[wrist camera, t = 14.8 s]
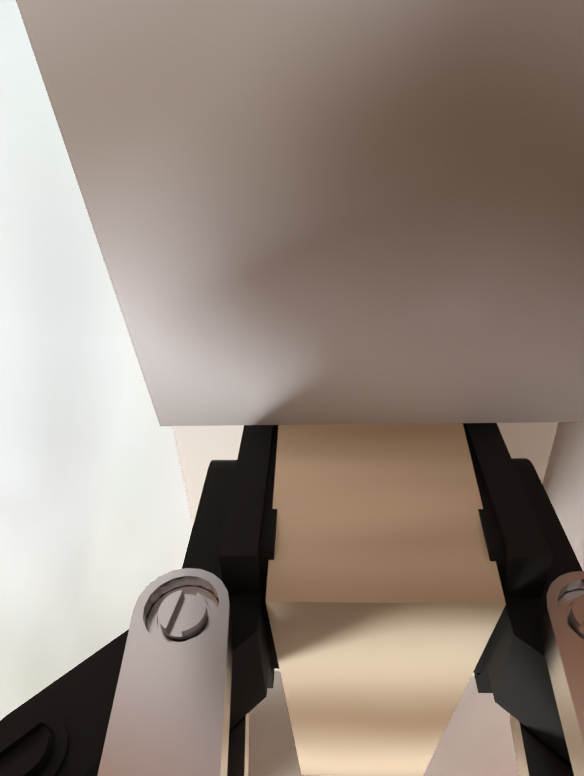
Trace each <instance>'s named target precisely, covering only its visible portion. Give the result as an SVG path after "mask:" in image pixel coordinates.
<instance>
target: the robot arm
mask: <svg viewBox="0 0 584 776" xmlns="http://www.w3.org/2000/svg"><path fill="white" fill-rule="evenodd" d="M278 426H279V425H244V428H243V433H242V438H241V443H240V448H239V453H238V458H237V460H212V461H211V462H210V464H209V467H208V470H207V474H206V478H205V482H204V486H203V490H202V494H201V497H200V501H199V505H198V509H197V513H196V517H195V521H194V525H193V528H192V532H191V536H190V540H189V544H188V548H187V552H186V555H185V559H184V563H183V567H182V569H179V570H174V571H171V572H169V573H167V574H164V575H162V576H160V577H158V578H157V579H156V580H155V581H153V582H152V583H151V584H149V585H148V586H147V587H146V588H145V590H144V591H143V592H142V594H141V595H140V596H139V598H138V600H137V602H136V605H135V607H134V610H133V614H132V618H131V623H130V628H129V629H128V630H127V631H126V632H124V633H123V634H121V635H120V636H119V637H117V638H116V639H114V640H113V641H112V642H110V643H109V644H107V645H106V646H104V647H103V648H102V649H100V650H99V651H97V652H96V653H95V654H93V655H92V656H90V657H89V658H87V659H86V660H85V661H83V662H82V663H80V664H79V665H78V666H76V667H75V668H73V669H72V670H70V671H69V672H68V673H66V674H65V675H63V676H62V677H61V678H59V679H58V680H56V681H55V682H53V683H52V684H51V685H49V686H48V687H46V688H45V689H44V690H42V691H41V692H39V693H38V694H37V695H35V696H34V697H32V698H31V699H29V700H28V701H27V702H25V703H24V704H22V705H21V706H20V707H18V708H17V709H15V710H14V711H12V712H11V713H10V714H8V715H7V716H6V717H4V718H3V719H2V720H1V721H0V776H248V761H249V712H250V711H251V710H252V709H253V708H254V707H255V706H256V705H257V704H259V703H260V702H261V701H262V700H263V699H264V698H265V697H266V695H267V688H273V682H274V669H279V664H278V659H277V654H276V649H275V645H274V640H273V635H272V630H271V625H270V620H269V616H268V611H267V606H266V589H267V575H268V562H269V560H274V553H275V538H276V523H277V509H272V508H273V494H274V480H275V467H276V453H277V440H278ZM463 426H464V430H465V435H466V439H467V443H468V447H469V451H470V456H471V460H472V464H473V468H474V472H475V477H476V481H477V485H478V489H479V493H480V498H481V502H482V506H483V509H478V511H479V516H480V520H481V524H482V529H483V533H484V537H485V542H486V546H487V550H488V555H489V559H490V561H496V565H497V569H498V573H499V577H500V582H501V586H502V590H503V594H504V598H505V603H506V605H505V607H504V609H503V611H502V613H501V616H500V618H499V620H498V622H497V624H496V626H495V628H494V630H493V632H492V634H491V636H490V638H489V640H488V642H487V644H486V646H485V649H484V651H483V653H482V655H481V657H480V659H479V661H478V663H477V665H476V667H475V669H474V671H473V673H474V675H475V679H476V684H477V688H478V693H493V695H494V699H495V702H496V703H497V704H499V705H500V706H501V707H502V708H504V709H505V710H506V711H507V712H508V713H510V724H511V729H512V735H513V741H514V747H515V753H516V759H517V765H518V770H519V776H584V571H583V570H582V568H581V566H580V564H579V562H578V560H577V558H576V555H575V553H574V551H573V549H572V547H571V545H570V543H569V540H568V538H567V536H566V534H565V532H564V530H563V528H562V525H561V523H560V521H559V519H558V517H557V515H556V513H555V510H554V508H553V506H552V504H551V502H550V500H549V498H548V495H547V493H546V491H545V489H544V487H543V485H542V483H541V480H540V478H539V476H538V474H537V472H536V470H535V467H534V466H533V464H532V462H531V461H530V460H528V459H527V458H511V456H510V453H509V451H508V449H507V446H506V444H505V442H504V439H503V437H502V435H501V432H500V430H499V427H498V425H497V423H463Z"/></svg>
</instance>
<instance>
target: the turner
mask: <svg viewBox="0 0 584 776" xmlns="http://www.w3.org/2000/svg"><path fill="white" fill-rule="evenodd" d="M16 1H17V4H18V7H19V10H20V13H21V16H22V19H23V22H24V25H25V28H26V31H27V34H28V37H29V40H30V43H31V46H32V49H33V52H34V55H35V58H36V61H37V64H38V66H39V69H40V72H41V75H42V78H43V81H44V84H45V87H46V90H47V93H48V96H49V99H50V102H51V105H52V108H53V111H54V114H55V117H56V120H57V123H58V126H59V128H60V131H61V134H62V137H63V140H64V143H65V146H66V149H67V152H68V155H69V158H70V161H71V164H72V167H73V170H74V173H75V176H76V179H77V182H78V185H79V188H80V190H81V193H82V196H83V199H84V202H85V205H86V208H87V211H88V214H89V217H90V220H91V223H92V226H93V229H94V232H95V235H96V238H97V241H98V244H99V247H100V250H101V253H102V255H103V258H104V261H105V264H106V267H107V270H108V273H109V276H110V279H111V282H112V285H113V288H114V291H115V294H116V297H117V300H118V303H119V306H120V309H121V312H122V315H123V317H124V320H125V323H126V326H127V329H128V332H129V335H130V338H131V341H132V344H133V347H134V350H135V353H136V356H137V359H138V362H139V365H140V368H141V371H142V374H143V377H144V379H145V382H146V385H147V388H148V391H149V394H150V397H151V400H152V403H153V406H154V409H155V412H156V415H157V418H158V421H159V424H160V426H221V425H279V426H278V440H277V453H276V467H275V480H274V494H273V508H272V509H277V523H276V538H275V553H274V560H269V562H268V575H267V589H266V606H267V611H268V616H269V620H270V625H271V630H272V635H273V640H274V645H275V649H276V654H277V659H278V664H279V669H280V673H281V678H282V683H283V688H284V693H285V698H286V702H287V707H288V712H289V717H290V722H291V727H292V731H293V736H294V741H295V746H296V751H297V756H298V760H299V765H300V770H301V775H319V776H423V774H424V772H425V770H426V768H427V766H428V764H429V762H430V760H431V758H432V756H433V754H434V752H435V750H436V748H437V745H438V743H439V741H440V739H441V737H442V735H443V733H444V731H445V729H446V727H447V725H448V723H449V721H450V719H451V717H452V715H453V712H454V710H455V708H456V706H457V704H458V702H459V700H460V698H461V696H462V694H463V692H464V690H465V688H466V686H467V684H468V682H469V679H470V677H471V675H472V673H473V671H474V669H475V667H476V665H477V663H478V661H479V659H480V657H481V655H482V653H483V651H484V649H485V646H486V644H487V642H488V640H489V638H490V636H491V634H492V632H493V630H494V628H495V626H496V624H497V622H498V620H499V618H500V616H501V613H502V611H503V609H504V607H505V605H506V603H505V598H504V594H503V590H502V586H501V582H500V577H499V573H498V569H497V565H496V561H490V559H489V555H488V550H487V546H486V542H485V537H484V533H483V529H482V524H481V520H480V516H479V511H478V509H483V506H482V502H481V498H480V493H479V489H478V485H477V481H476V477H475V472H474V468H473V464H472V460H471V456H470V451H469V447H468V443H467V439H466V435H465V430H464V426H463V423H536V422H584V0H16Z"/></svg>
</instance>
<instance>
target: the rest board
mask: <svg viewBox="0 0 584 776" xmlns="http://www.w3.org/2000/svg"><path fill="white" fill-rule="evenodd" d="M558 424H559V422H536V423H497V425H498V427H499V430H500V432H501V435H502V437H503V439H504V442H505V444H506V446H507V449H508V451H509V453H510V456H511V458H527V459H528V460H530V461H531V462H532V464H533V466H534V467H535V470H536V472H537V474H538V476H539V478H540V480H541V483H542V484H543V480H544V476H545V472H546V469H547V465H548V461H549V457H550V454H551V450H552V446H553V442H554V439H555V435H556V431H557V427H558ZM243 428H244V425H221V426H172V429H173V434H174V438H175V443H176V448H177V453H178V458H179V462H180V467H181V472H182V477H183V481H184V486H185V491H186V496H187V501H188V505H189V510H190V515H191V520H192V524H193V525H194V521H195V517H196V513H197V509H198V505H199V501H200V497H201V494H202V490H203V486H204V482H205V478H206V474H207V470H208V467H209V464H210V462H211V461H212V460H237V458H238V453H239V448H240V443H241V438H242V433H243ZM274 671H280V669H274ZM471 676H475V675H474V673H472V675H471Z"/></svg>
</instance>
